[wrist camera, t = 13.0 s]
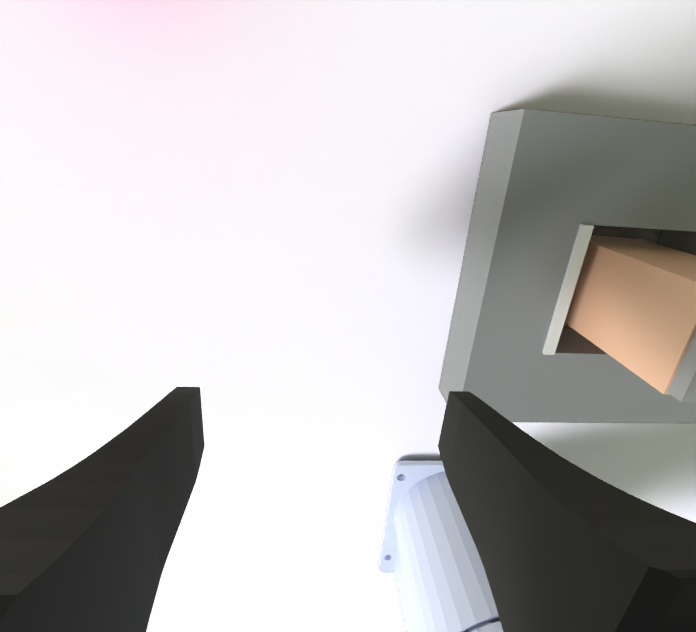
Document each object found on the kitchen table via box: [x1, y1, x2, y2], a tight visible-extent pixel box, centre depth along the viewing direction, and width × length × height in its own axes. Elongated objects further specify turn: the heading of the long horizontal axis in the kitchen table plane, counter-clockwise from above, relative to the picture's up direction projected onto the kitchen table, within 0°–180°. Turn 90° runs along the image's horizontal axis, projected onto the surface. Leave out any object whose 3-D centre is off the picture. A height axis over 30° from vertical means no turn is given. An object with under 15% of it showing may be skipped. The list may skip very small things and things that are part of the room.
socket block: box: [439, 109, 696, 423], centre depth 20 cm, size 14×14×3 cm
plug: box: [564, 235, 696, 402], centre depth 17 cm, size 4×4×9 cm
